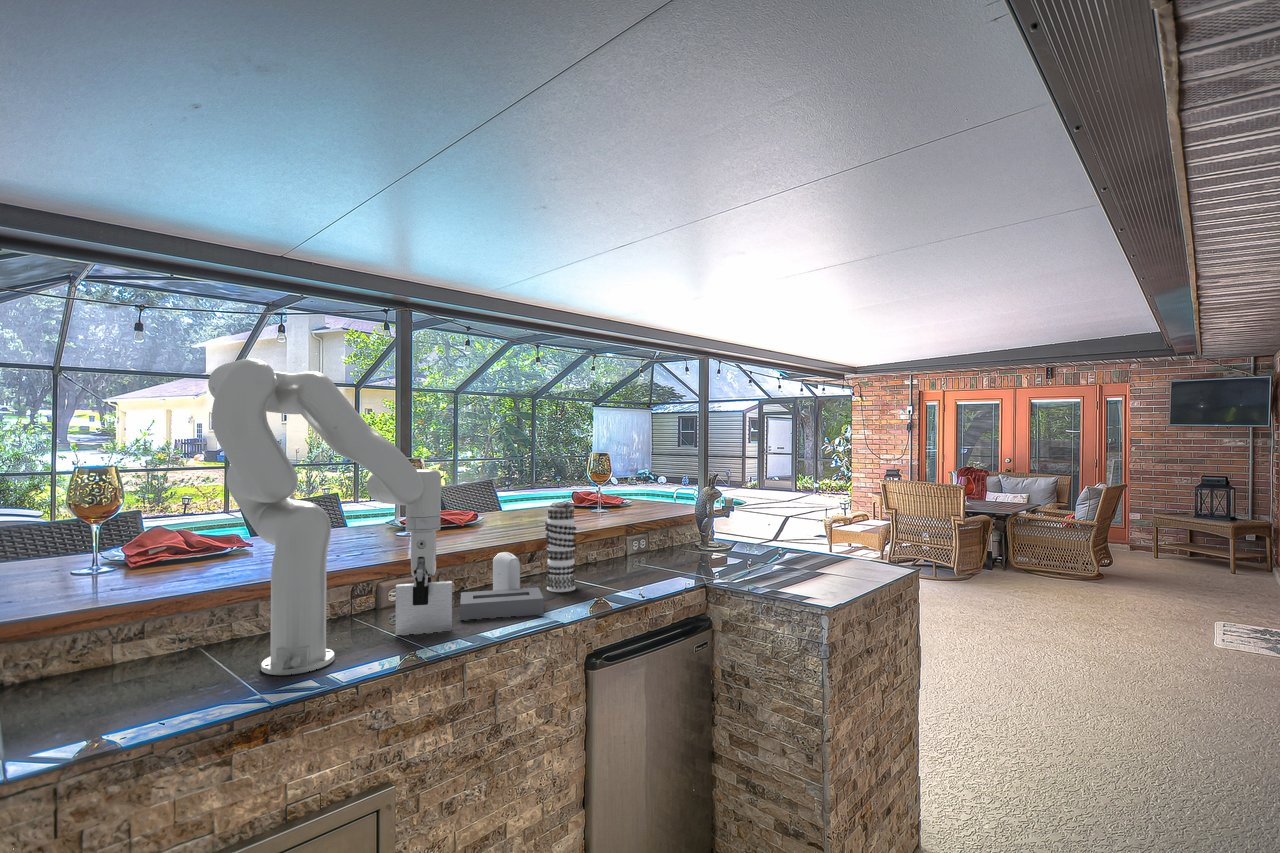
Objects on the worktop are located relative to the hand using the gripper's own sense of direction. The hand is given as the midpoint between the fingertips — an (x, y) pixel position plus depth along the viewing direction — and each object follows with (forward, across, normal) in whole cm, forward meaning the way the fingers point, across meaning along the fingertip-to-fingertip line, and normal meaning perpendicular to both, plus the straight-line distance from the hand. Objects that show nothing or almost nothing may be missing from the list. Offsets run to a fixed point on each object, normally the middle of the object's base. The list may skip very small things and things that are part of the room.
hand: (422, 599), depth 142 cm
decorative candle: (+7, +33, -36) cm, 50 cm away
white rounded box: (+7, +27, -20) cm, 35 cm away
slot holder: (+7, +13, -18) cm, 24 cm away
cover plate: (+7, 0, -1) cm, 8 cm away
